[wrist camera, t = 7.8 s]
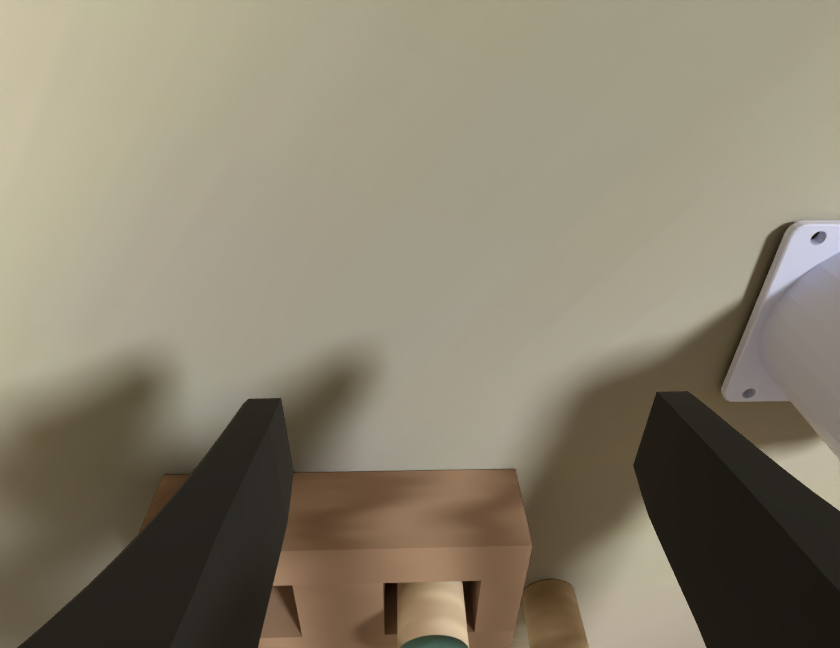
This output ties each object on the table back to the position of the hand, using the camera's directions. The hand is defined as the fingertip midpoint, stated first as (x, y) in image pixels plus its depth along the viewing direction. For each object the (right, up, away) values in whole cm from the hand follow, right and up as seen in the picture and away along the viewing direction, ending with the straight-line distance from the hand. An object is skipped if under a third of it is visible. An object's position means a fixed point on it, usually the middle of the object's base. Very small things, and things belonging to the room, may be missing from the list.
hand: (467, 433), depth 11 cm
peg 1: (-1, -8, +18) cm, 19 cm away
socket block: (-5, -8, +17) cm, 20 cm away
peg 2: (+6, -13, +21) cm, 26 cm away
